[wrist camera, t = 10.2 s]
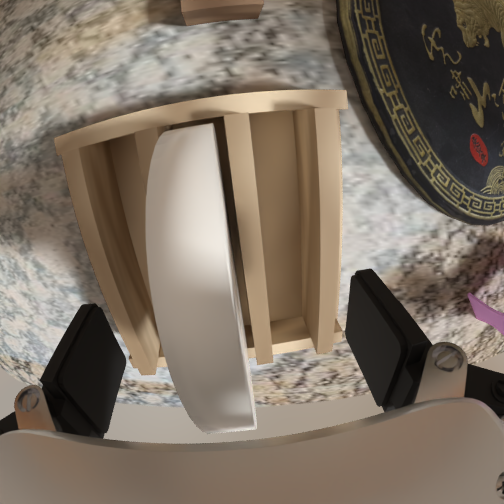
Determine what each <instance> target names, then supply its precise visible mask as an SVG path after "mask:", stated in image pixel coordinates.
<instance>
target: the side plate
mask: <svg viewBox="0 0 504 504" xmlns="http://www.w3.org/2000/svg"><path fill="white" fill-rule="evenodd" d="M146 251H147V264H148V276H149V283H150V290H151V297H152V303H153V309H154V315H155V320H156V324H157V329H158V333H159V337H160V342H161V346H162V350H163V353H164V356H165V360H166V363H167V366H168V369H169V372H170V375H171V378H172V381H173V383H174V386H175V388H176V391H177V393H178V395H179V398H180V400H181V402H182V404H183V406H184V408H185V410H186V411H187V413H188V415H189V417H190V418H191V419H192V421H193V422H194V424H195V425H196V426H197V427H198V428H199V429H200V430H201V431H202V432H205V433H209V434H210V433H223V432H233V431H242V430H252V429H256V427H257V424H256V412H255V403H254V395H253V387H252V380H251V372H250V365H249V358H248V350H247V343H246V336H245V329H244V322H243V315H242V308H241V301H240V294H239V287H238V280H237V273H236V266H235V259H234V252H233V245H232V238H231V231H230V224H229V217H228V210H227V203H226V196H225V189H224V182H223V176H222V169H221V163H220V156H219V150H218V144H217V138H216V133H215V128H214V125H213V123H211V124H204V125H198V126H192V127H186V128H180V129H175V130H170V131H166V132H164V133H163V134H162V135H161V136H160V137H159V139H158V141H157V143H156V145H155V148H154V152H153V155H152V159H151V164H150V169H149V175H148V183H147V195H146Z"/></svg>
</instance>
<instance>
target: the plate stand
mask: <svg viewBox="0 0 504 504" xmlns="http://www.w3.org/2000/svg"><path fill="white" fill-rule="evenodd" d="M263 5H264V1H263V0H181V11H182V15H183V17H184V20H185V23H186V25H187V26H190V25H197V24H203V23H211V22H219V21H229V20H240V19H258V17H259V15H260V12H261V10H262V7H263Z"/></svg>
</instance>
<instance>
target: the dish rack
mask: <svg viewBox="0 0 504 504" xmlns="http://www.w3.org/2000/svg"><path fill="white" fill-rule="evenodd" d="M339 109H348V102H347V91H346V90H280V91H263V92H251V93H240V94H231V95H223V96H216V97H208V98H202V99H196V100H190V101H184V102H179V103H173V104H168V105H164V106H159V107H154V108H150V109H146V110H142V111H138V112H134V113H130V114H126V115H122V116H119V117H115V118H112V119H108V120H105V121H102V122H98V123H95V124H92V125H89V126H86V127H83V128H80V129H77V130H74V131H72V132H69V133H66V134H63V135H61V136H58V137H56V138H54V142H55V148H56V153H57V156H59V155H62V160H63V165H64V170H65V174H66V179H67V183H68V187H69V192H70V196H71V200H72V203H73V207H74V211H75V214H76V218H77V221H78V225H79V228H80V231H81V235H82V238H83V241H84V244H85V247H86V250H87V253H88V256H89V259H90V262H91V265H92V267H93V270H94V273H95V275H96V278H97V281H98V283H99V286H100V288H101V291H102V293H103V296H104V298H105V301H106V303H107V305H108V308H109V310H110V312H111V315H112V317H113V319H114V321H115V324H116V326H117V328H118V330H119V332H120V334H121V337H122V339H123V341H124V343H125V345H126V347H127V349H128V351H129V353H130V356H129V360H130V362H131V364H132V366H133V368H138V370H139V372H140V374H141V375H155V374H156V368H157V367H168V366H167V363H166V360H165V356H164V353H163V350H162V346H161V342H160V337H159V333H158V329H157V324H156V320H155V315H154V309H153V303H152V297H151V290H150V283H149V276H148V264H147V251H146V195H147V183H148V175H149V169H150V164H151V159H152V155H153V152H154V148H155V145H156V143H157V141H158V139H159V137H160V136H161V135H162V134H163V133H164V132H166V131H170V130H175V129H180V128H186V127H192V126H198V125H204V124H211V123H213V125H214V128H215V133H216V138H217V144H218V150H219V156H220V163H221V169H222V176H223V182H224V189H225V196H226V203H227V210H228V217H229V224H230V231H231V238H232V245H233V252H234V259H235V266H236V273H237V280H238V287H239V294H240V301H241V308H242V315H243V322H244V329H245V336H246V343H247V350H248V358H256V360H257V365H261V364H267V363H273V355H275V354H281V353H287V352H292V351H298V350H303V349H308V348H313V347H314V348H315V350H316V353H317V354H321V353H326V352H331V351H332V347H333V343H337V342H341V341H342V333H343V331H342V329H341V327H340V325H339V323H338V321H337V316H338V304H339V290H340V274H341V253H342V154H341V133H340V118H339Z"/></svg>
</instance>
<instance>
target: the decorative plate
mask: <svg viewBox="0 0 504 504" xmlns="http://www.w3.org/2000/svg"><path fill="white" fill-rule="evenodd" d="M336 3H337V20H338V26H339V30H340V34H341V38H342V42H343V46H344V50H345V55H346V60H347V63H348V66H349V68H350V71H351V73H352V76H353V79H354V81H355V84H356V87H357V90H358V93H359V95H360V98H361V101H362V104H363V106H364V108H365V110H366V112H367V114H368V115H369V117H370V119H371V121H372V124H373V126H374V128H375V130H376V132H377V134H378V136H379V138H380V140H381V142H382V144H383V145H384V147H385V148H386V150H387V151H388V153H389V154H390V156H391V158H392V159H393V161H394V162H395V164H396V165H397V167H398V168H399V170H400V172H401V173H402V175H403V176H404V177H405V178H406V179H407V181H408V182H409V183H410V184H411V185H412V186H413V187H414V188H415V189H416V191H417V192H418V193H419V194H420V195H421V196H422V197H423V199H424V200H426V201H427V202H429V203H430V204H431V205H433V206H434V207H435V208H437V209H438V210H439V211H441V212H442V213H443V214H445V215H447V216H449V217H451V218H454V219H457V220H459V221H462V222H464V223H467V224H470V225H485V226H489V225H492V224H495V223H498V222H501V221H504V0H336Z"/></svg>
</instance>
